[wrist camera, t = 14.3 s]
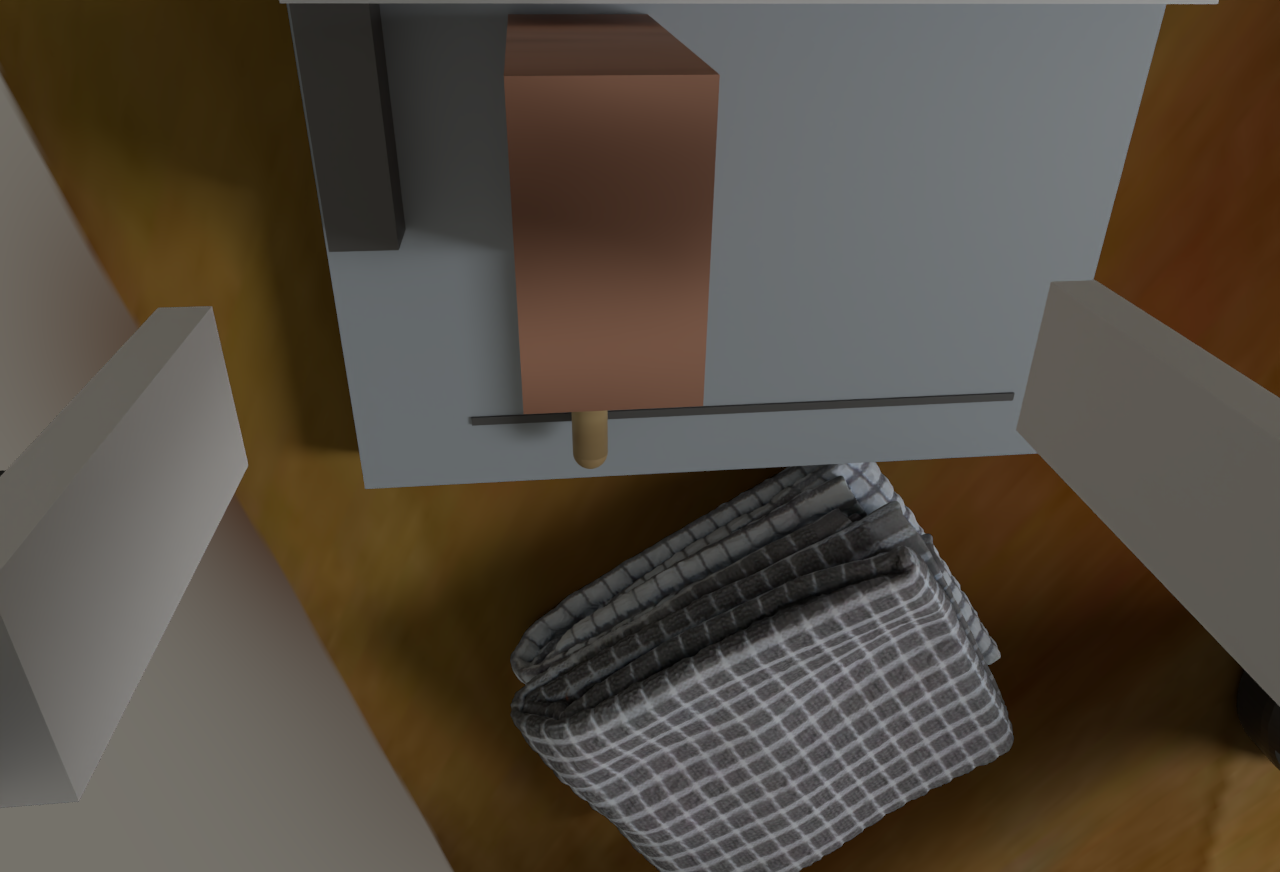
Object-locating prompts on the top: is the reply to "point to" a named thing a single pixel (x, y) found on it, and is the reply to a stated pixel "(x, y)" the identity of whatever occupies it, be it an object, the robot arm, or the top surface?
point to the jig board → (732, 224)
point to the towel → (765, 677)
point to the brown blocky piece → (609, 216)
